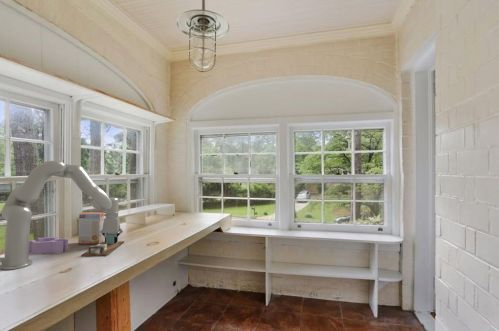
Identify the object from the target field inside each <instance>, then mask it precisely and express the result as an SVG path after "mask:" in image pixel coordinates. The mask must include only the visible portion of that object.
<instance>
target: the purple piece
mask: <svg viewBox="0 0 499 331" xmlns="http://www.w3.org/2000/svg"><path fill="white" fill-rule="evenodd" d="M68 243H69V239H68V238H66V237H65V238H58V237H56V236H55V237H53V236H48V237H38V238H37V239H34V240H33V239H32V240H29V253H32V254H33V253H34V255H41V254H42V255H43V253H44V254H61V252H62V253H64V252H65V251H66V250H67V251H68V245H69V244H68Z"/></svg>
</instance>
